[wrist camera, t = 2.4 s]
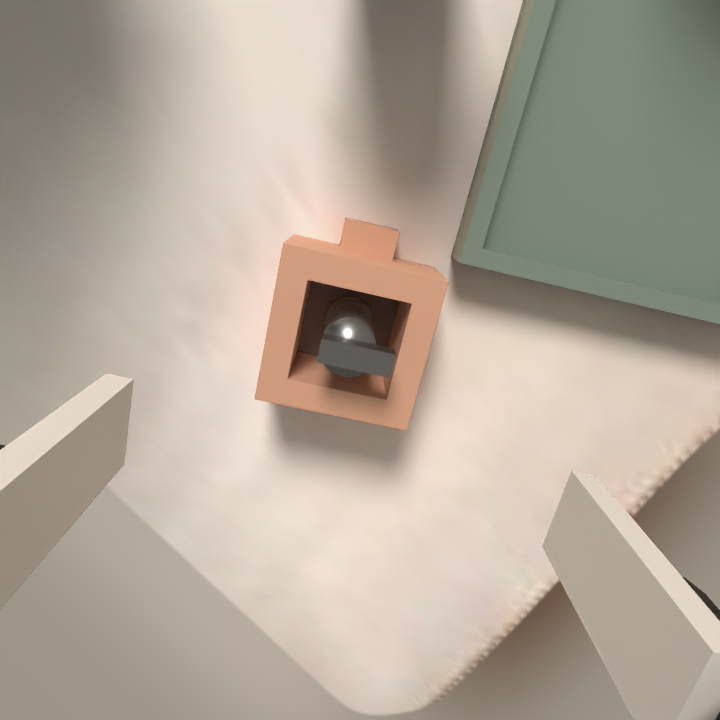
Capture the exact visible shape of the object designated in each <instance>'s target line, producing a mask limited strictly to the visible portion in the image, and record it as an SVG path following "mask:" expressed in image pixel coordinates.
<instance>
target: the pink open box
mask: <svg viewBox="0 0 720 720" xmlns="http://www.w3.org/2000/svg"><path fill="white" fill-rule="evenodd" d="M398 236H399V231H397V230H396V229H392V228H388V227H383V226H379V225H375V224H371V223H367V222H362V221H358V220H354V219H350V218H346V219H345V224H344V228H343V233H342V237H341V242H340V245H337V244H332V243H328V242H324V241H320V240H315V239H311V238H307V237H302V236H298V235H293V236H292V237H290V238H289V239H288V240H287V241H285V242H284V243H283V248H282V253H281V259H280V264H279V269H278V275H277V280H276V286H275V291H274V297H273V302H272V307H271V313H270V318H269V324H268V329H267V334H266V340H265V345H264V351H263V356H262V361H261V367H260V372H259V378H258V383H257V389H256V394H255V399H256V400H261V401H266V402H271V403H276V404H280V405H285V406H290V407H295V408H300V409H305V410H309V411H314V412H319V413H324V414H329V415H333V416H338V417H343V418H348V419H353V420H358V421H362V422H367V423H372V424H377V425H382V426H387V427H391V428H396V429H401V430H406V431H407V427H408V424H409V420H410V417H411V413H412V410H413V406H414V402H415V399H416V395H417V392H418V388H419V385H420V381H421V378H422V374H423V371H424V367H425V364H426V360H427V357H428V353H429V350H430V346H431V343H432V339H433V336H434V332H435V328H436V325H437V321H438V318H439V314H440V311H441V307H442V304H443V300H444V297H445V293H446V290H447V286H448V283H449V281H448V280H447V279H446V278H445V277H444V276H443V275H442V274H441V273H440V272H438V271H437V270H436V269H435V268H434V267H430V266H426V265H422V264H418V263H413V262H409V261H405V260H401V259H396V258H393V257H394V253H395V249H396V245H397V240H398ZM311 281H315V282H319V283H324V284H328V285H332V286H337V287H341V288H346V289H350V290H354V291H359V292H363V293H367V294H372V295H376V296H381V297H385V298H389V299H394V300H398V301H399V305H398V309H397V313H396V316H395V320H394V324H393V328H392V332H391V336H390V340H389V344H388V347H389V348H393V349H395V352H396V358H395V362H394V366H393V369H392V373H391V377H390V378H387V377H382V376H378V375H373V374H368V373H363V374H361V375H359V376H356V377H350V378H347V377H341V376H338V375H335V374H333V373H332V372H330V371H329V370H328V369H327V368H326V367H325V365H324V364H322V363H317V358H318V356H315V355H310V354H306V353H301V352H297V348H298V343H299V339H300V334H301V329H302V324H303V319H304V314H305V309H306V304H307V300H308V295H309V290H310V285H311Z"/></svg>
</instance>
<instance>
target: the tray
mask: <svg viewBox="0 0 720 720" xmlns="http://www.w3.org/2000/svg"><path fill="white" fill-rule="evenodd" d="M451 257H452V258H453V259H454V260H456V261H457V262H459V263H462V264H466V265H471V266H475V267H479V268H483V269H488V270H492V271H496V272H500V273H504V274H509V275H513V276H517V277H521V278H526V279H530V280H534V281H538V282H543V283H547V284H551V285H555V286H560V287H564V288H568V289H572V290H577V291H581V292H585V293H589V294H593V295H598V296H602V297H606V298H610V299H615V300H619V301H623V302H627V303H632V304H636V305H640V306H644V307H649V308H653V309H657V310H661V311H666V312H670V313H674V314H678V315H682V316H687V317H691V318H695V319H699V320H704V321H708V322H712V323H716V324H720V0H523V3H522V6H521V10H520V13H519V17H518V21H517V24H516V28H515V31H514V35H513V38H512V42H511V45H510V49H509V53H508V56H507V60H506V63H505V67H504V70H503V74H502V77H501V81H500V85H499V88H498V92H497V95H496V99H495V102H494V106H493V110H492V113H491V117H490V120H489V124H488V127H487V131H486V134H485V138H484V142H483V145H482V149H481V152H480V156H479V159H478V163H477V166H476V170H475V174H474V177H473V181H472V184H471V188H470V191H469V195H468V198H467V202H466V206H465V209H464V213H463V216H462V220H461V223H460V227H459V230H458V234H457V238H456V241H455V245H454V248H453V252H452V255H451Z"/></svg>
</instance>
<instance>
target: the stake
mask: <svg viewBox="0 0 720 720" xmlns="http://www.w3.org/2000/svg"><path fill="white" fill-rule="evenodd" d="M395 358H396V352H395V349H393V348H389V347H384V346H380V345H376V340H375V333H374V327H373V320H372V314H371V311H370V309H369V307H368V306H367V305H366V304H365V303H364V302H363V301H362V300H360V299H358V298H355V297H343V298H340V299H338V300H336V301H335V302H334V303H333V304H332V305H331V306H330V307H329V309H328V311H327V315H326V319H325V324H324V329H323V334H322V339H321V344H320V348H319V353H318V358H317V363H322V364H324V365H325V367H326V368H327V369H328V370H329V371H330V372H332V373H333V374H335V375H338V376H341V377H347V378H350V377H356V376H359V375H361V374H363V373H368V374H373V375H378V376H382V377H387V378H390V377H391V373H392V369H393V366H394V362H395Z"/></svg>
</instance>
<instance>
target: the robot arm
mask: <svg viewBox="0 0 720 720" xmlns="http://www.w3.org/2000/svg"><path fill="white" fill-rule="evenodd" d="M132 388H133V379H131V378H126V377H121V376H116V375H112V374H107V373H106V374H105V375H103V376H102V377H100V378H99V379H98V380H96V381H95V382H94V383H92V384H91V385H89V386H88V387H87V388H85V389H84V390H82V391H81V392H80V393H78V394H77V395H76V396H74V397H73V398H71V399H70V400H69V401H67V402H66V403H65V404H63V405H62V406H60V407H59V408H58V409H56V410H55V411H53V412H52V413H51V414H49V415H48V416H47V417H45V418H44V419H42V420H41V421H40V422H38V423H37V424H35V425H34V426H33V427H31V428H30V429H29V430H27V431H26V432H24V433H23V434H22V435H20V436H19V437H18V438H16V439H15V440H13V441H12V442H11V443H9V444H8V445H6V446H4V445H0V609H1V608H2V607H3V606H4V604H5V603H6V602H7V601H8V600H9V599H10V597H11V596H12V595H13V594H14V593H15V592H16V590H17V589H18V588H19V587H20V586H21V585H22V583H23V582H24V581H25V580H26V579H27V577H28V576H29V575H30V574H31V573H32V572H33V570H34V569H35V568H36V567H37V566H38V565H39V563H40V562H41V561H42V560H43V559H44V558H45V556H46V555H47V554H48V553H49V552H50V550H51V549H52V548H53V547H54V546H55V545H56V543H57V542H58V541H59V540H60V539H61V538H62V536H63V535H64V534H65V533H66V532H67V531H68V529H69V528H70V527H71V526H72V524H74V522H75V521H76V520H77V519H78V518H79V516H80V515H81V514H82V513H83V512H84V511H85V509H86V508H87V507H88V506H89V505H90V504H91V502H92V501H93V500H94V499H95V498H96V496H97V495H98V494H99V493H100V492H101V491H102V489H103V488H104V487H105V486H106V485H107V484H108V482H109V481H110V480H111V479H112V478H113V477H114V475H115V474H116V473H117V472H118V471H119V470H120V468H121V467H122V466H123V465H124V460H125V451H126V442H127V433H128V424H129V415H130V406H131V397H132ZM542 547H543V549H544V551H545V553H546V555H547V557H548V559H549V561H550V562H551V564H552V566H553V568H554V570H555V572H556V574H557V576H558V578H559V579H560V581H561V583H562V585H563V587H564V589H565V591H566V592H567V595H568V596H569V598H570V600H571V602H572V604H573V605H574V608H575V610H576V611H577V613H578V615H579V617H580V619H581V621H582V623H583V625H584V627H585V628H586V630H587V632H588V634H589V636H590V638H591V640H592V641H593V644H594V645H595V647H596V649H597V651H598V653H599V655H600V657H601V659H602V661H603V663H604V664H605V666H606V668H607V670H608V672H609V674H610V676H611V678H612V679H613V681H614V683H615V685H616V687H617V689H618V691H619V693H620V695H621V696H622V698H623V700H624V702H625V704H626V706H627V708H628V710H629V711H630V714H631V715H632V717H633V719H634V720H720V610H719V609H718V608H717V607H716V606H715V605H714V603H713V602H712V601H711V600H710V599H709V598H708V597H707V595H706V594H705V593H704V592H702V591H701V590H700V589H698V588H697V587H696V586H695V585H693V584H692V583H691V582H690V581H688V580H687V579H686V578H685V577H682V576H681V575H680V574H679V573H678V572H677V571H676V569H675V568H674V567H673V566H672V565H671V564H670V562H669V561H668V560H667V559H666V558H665V556H664V555H663V554H662V553H661V552H660V551H659V549H658V548H657V547H656V546H655V545H654V544H653V542H652V541H651V540H650V539H649V538H648V537H647V535H646V534H645V533H644V532H643V531H642V529H641V528H640V527H639V526H638V525H637V524H636V522H635V521H634V520H633V519H632V518H631V517H630V515H629V514H628V513H627V512H626V511H625V509H624V508H623V507H622V506H621V505H620V504H619V502H618V501H617V500H616V499H615V498H614V497H613V495H612V494H611V493H610V492H609V491H608V490H607V488H606V487H605V486H604V485H603V484H602V482H601V481H600V480H599V479H598V478H597V477H596V476H595V475H590V474H585V473H580V472H576V471H572V472H571V474H570V477H569V479H568V482H567V484H566V487H565V489H564V492H563V495H562V497H561V500H560V502H559V505H558V507H557V510H556V512H555V515H554V517H553V520H552V523H551V525H550V528H549V530H548V533H547V535H546V538H545V540H544V543H543V546H542Z"/></svg>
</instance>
